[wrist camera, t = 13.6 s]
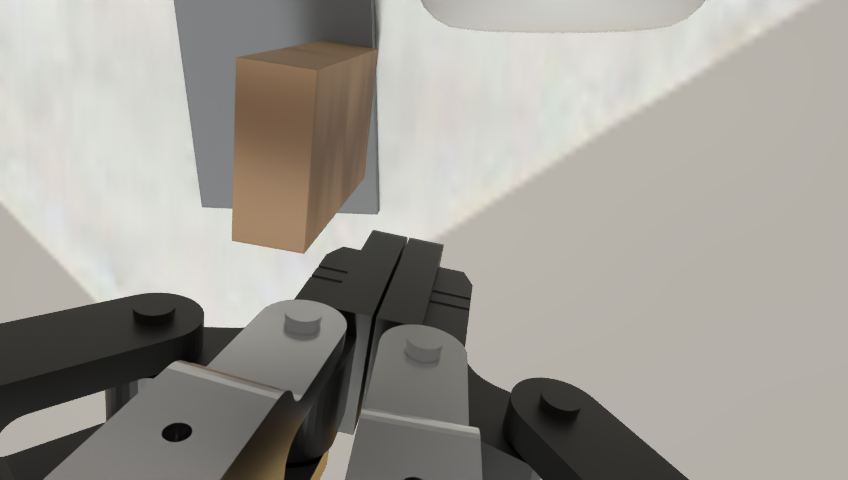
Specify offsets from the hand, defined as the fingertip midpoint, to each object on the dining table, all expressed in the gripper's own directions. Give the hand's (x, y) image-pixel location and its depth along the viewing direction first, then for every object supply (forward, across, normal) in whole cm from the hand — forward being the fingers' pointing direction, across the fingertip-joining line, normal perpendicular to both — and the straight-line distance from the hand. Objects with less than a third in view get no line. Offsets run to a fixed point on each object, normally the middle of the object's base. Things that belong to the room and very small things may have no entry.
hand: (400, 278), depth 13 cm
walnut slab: (+16, +5, 0) cm, 17 cm away
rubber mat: (+17, +8, +1) cm, 19 cm away
